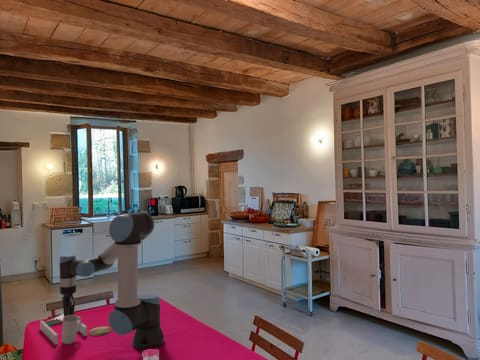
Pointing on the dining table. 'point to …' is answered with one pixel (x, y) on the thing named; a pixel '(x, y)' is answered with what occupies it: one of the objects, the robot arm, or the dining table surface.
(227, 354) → the dining table surface
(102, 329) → the coaster
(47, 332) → the channel
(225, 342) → the dining table surface
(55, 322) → the pad
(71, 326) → the mug
